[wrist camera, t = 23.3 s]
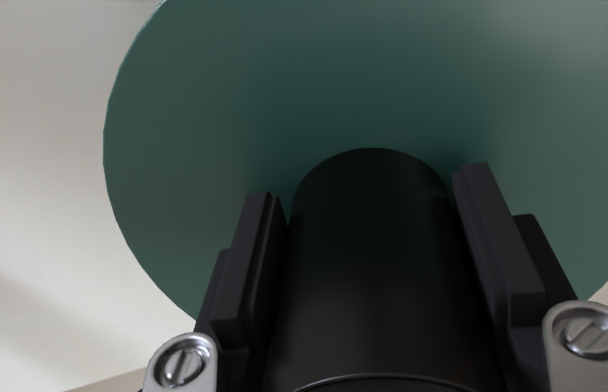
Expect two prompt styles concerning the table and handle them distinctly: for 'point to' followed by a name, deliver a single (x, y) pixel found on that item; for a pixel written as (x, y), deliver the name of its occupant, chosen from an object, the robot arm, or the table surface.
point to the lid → (362, 166)
